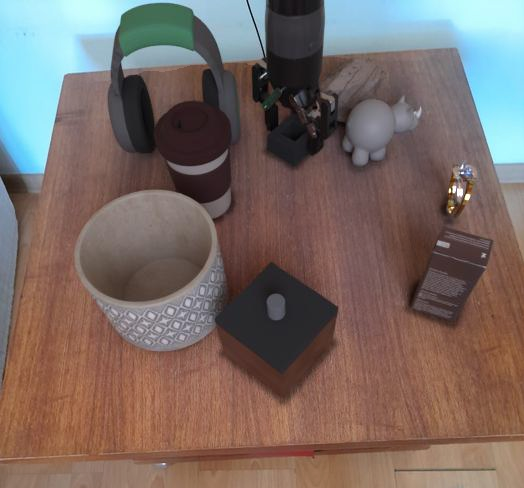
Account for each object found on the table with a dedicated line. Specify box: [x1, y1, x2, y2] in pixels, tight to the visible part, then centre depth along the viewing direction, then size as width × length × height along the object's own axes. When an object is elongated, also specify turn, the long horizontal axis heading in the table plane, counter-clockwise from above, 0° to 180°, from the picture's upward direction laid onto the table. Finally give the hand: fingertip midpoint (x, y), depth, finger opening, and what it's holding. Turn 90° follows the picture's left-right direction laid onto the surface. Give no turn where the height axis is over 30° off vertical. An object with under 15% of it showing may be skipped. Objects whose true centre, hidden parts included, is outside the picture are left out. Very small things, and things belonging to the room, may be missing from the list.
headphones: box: [107, 2, 242, 155], centre depth 71 cm, size 19×11×20 cm, turn 93°
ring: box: [445, 159, 478, 219], centre depth 68 cm, size 7×3×8 cm, turn 168°
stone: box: [289, 56, 388, 124], centre depth 78 cm, size 15×9×10 cm
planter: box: [73, 189, 229, 352], centre depth 61 cm, size 16×16×13 cm
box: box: [409, 225, 494, 323], centre depth 59 cm, size 6×4×12 cm
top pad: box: [266, 113, 317, 167], centre depth 77 cm, size 6×6×3 cm
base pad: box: [215, 261, 339, 374], centre depth 54 cm, size 10×10×4 cm
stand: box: [216, 312, 339, 399], centre depth 59 cm, size 10×10×8 cm
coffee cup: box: [154, 100, 232, 220], centre depth 67 cm, size 10×10×15 cm
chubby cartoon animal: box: [341, 94, 423, 167], centre depth 73 cm, size 7×12×8 cm, turn 107°
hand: (293, 140), depth 77 cm, fingers open, 8 cm apart
